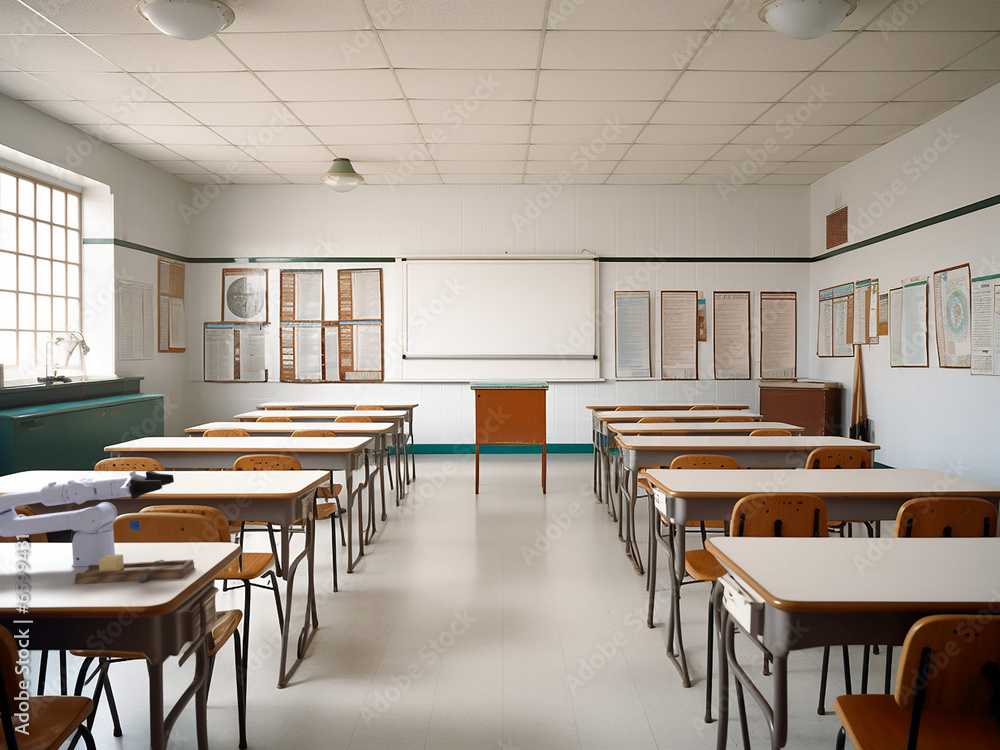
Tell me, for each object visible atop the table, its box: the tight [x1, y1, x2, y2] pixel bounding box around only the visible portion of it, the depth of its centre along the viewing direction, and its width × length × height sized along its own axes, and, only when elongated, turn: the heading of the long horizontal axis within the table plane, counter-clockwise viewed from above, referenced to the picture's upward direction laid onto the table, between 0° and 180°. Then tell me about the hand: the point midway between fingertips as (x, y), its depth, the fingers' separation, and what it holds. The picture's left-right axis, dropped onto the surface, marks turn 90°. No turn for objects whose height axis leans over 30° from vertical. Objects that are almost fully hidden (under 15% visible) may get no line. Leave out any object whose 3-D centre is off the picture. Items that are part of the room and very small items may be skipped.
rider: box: [99, 553, 124, 572], centre depth 168 cm, size 4×4×4 cm
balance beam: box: [74, 559, 195, 585], centre depth 169 cm, size 26×12×2 cm, turn 95°
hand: (167, 481), depth 182 cm, fingers open, 7 cm apart
